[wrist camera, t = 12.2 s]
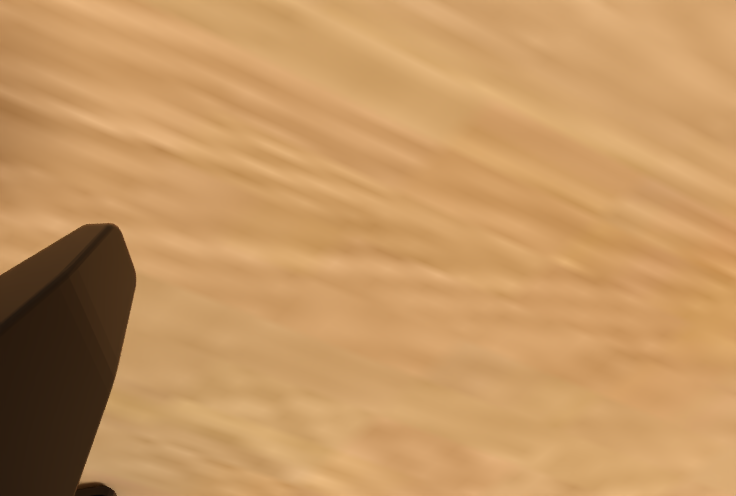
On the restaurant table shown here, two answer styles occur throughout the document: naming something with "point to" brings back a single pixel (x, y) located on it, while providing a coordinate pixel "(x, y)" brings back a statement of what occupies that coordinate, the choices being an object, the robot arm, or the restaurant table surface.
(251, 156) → the restaurant table surface
